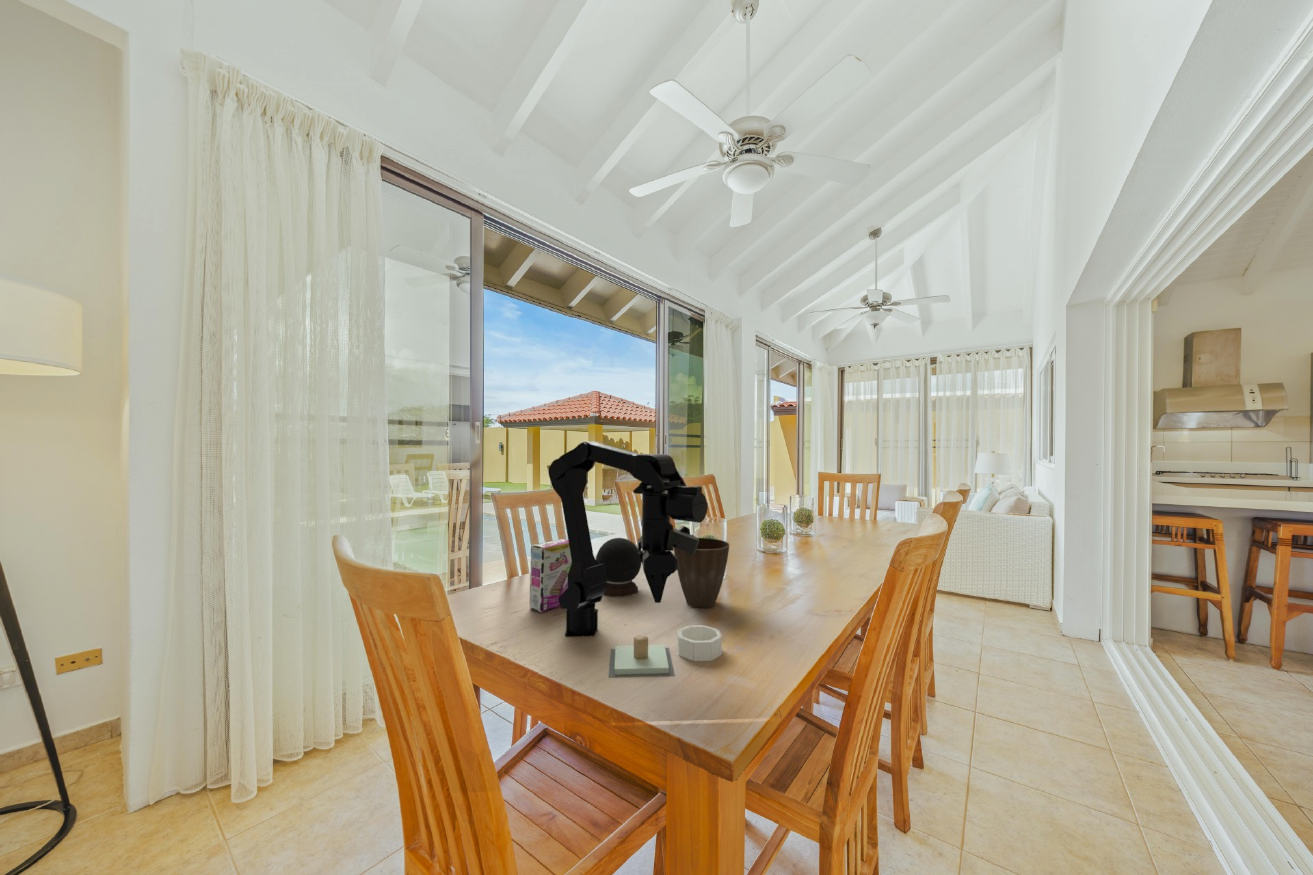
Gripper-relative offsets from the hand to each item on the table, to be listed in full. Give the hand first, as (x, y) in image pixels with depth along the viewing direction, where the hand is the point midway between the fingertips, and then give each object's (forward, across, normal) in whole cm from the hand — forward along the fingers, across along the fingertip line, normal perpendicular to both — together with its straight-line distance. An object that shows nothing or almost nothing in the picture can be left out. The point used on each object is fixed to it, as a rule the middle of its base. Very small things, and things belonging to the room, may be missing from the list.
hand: (655, 594), depth 98 cm
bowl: (+12, 0, -9) cm, 15 cm away
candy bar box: (+13, +32, +24) cm, 42 cm away
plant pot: (+13, +30, -15) cm, 36 cm away
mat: (+12, -3, +3) cm, 13 cm away
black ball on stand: (+13, +43, +6) cm, 45 cm away
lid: (+12, -3, +3) cm, 13 cm away
